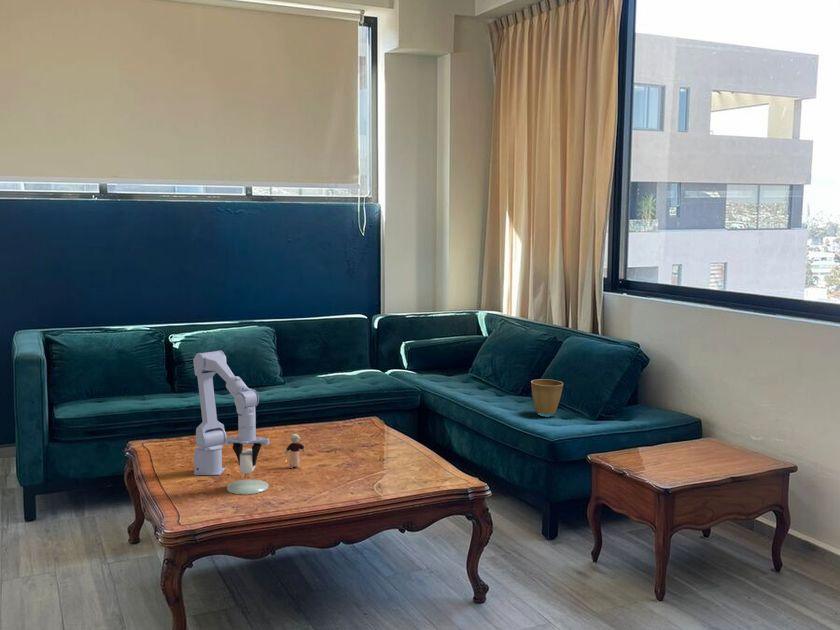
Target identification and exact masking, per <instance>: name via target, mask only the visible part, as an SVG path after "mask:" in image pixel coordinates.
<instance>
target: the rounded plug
mask: <svg viewBox="0 0 840 630" xmlns="http://www.w3.org/2000/svg"><path fill="white" fill-rule="evenodd" d="M256 465H257V464H256ZM256 465H255V466H253V454H252V448H245V449H243V450H242V453H241V454H240V466H239V473H241V474H247V475H248V474H251V473H252V472H253V471H254V470H255V469H256V467H257V466H256Z"/></svg>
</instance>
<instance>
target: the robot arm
mask: <svg viewBox="0 0 840 630" xmlns="http://www.w3.org/2000/svg"><path fill="white" fill-rule="evenodd" d="M192 360H193V361H192V363H193V371H194V376H196V377H197V385H198V394H199V403H200V410H201V419H202V422H201V423H200V424H199V425H198V426H196V429H195V444H196V446H197V447H196V448H195V450H194V453H193V455H194V456H193V467H194V468H193V469H194V471H193V472H194V473H193V475H197V476H200V475H201V476H221V474H223V472H224V471H225V470H226V467H225V466H223V458H222V455H223V453H222V452H223V451H222V448H224V445H232V450H233V452H234V453H235V456H236V458H237V461H238V466H239V467H240V454H241V453H242V451H243V450H244V448H243V446H244V445H252V446H251V449H252V454H253V466H255V465H257V459H258V455H259V453H260V450H261V448H262V446H263V445H264V446H268V445H269V444H270V438H269V437H268V438H267V437H260V436H256V434H257V433H256V430H257V428H256V427H257V426H256V424H257V422H256V421H257V420H256V418H257V415H256V407H257V406H258V405H259V402H260V397H259V394H258V392H257V391H256V389H253V388H249V386H247V385H246V383H245V382H244V381H243V379H242V378H241V377H240V376H239V375H238V376H235V374H234V373H233V372H232V370H231V367H229V365H228V364H227V356H226V355H225V353H224V352H223V350H220V349H219V350H216V351H207V352H202V353H201V352H198V353H196V354H195V355H194V358H193V359H192ZM216 374H217V375H218V376H219V377H220V378H221V379H222V380H224V381H225V388H226V389H227V391H229V393H230V394H231V395H232V397H233V398H234V405H235V407H236V413H237V414H238V415H237V417H238V419H237V420H238V421H237V423H238V425H237V427H238V436H232V437H229V436H228V437H227V432H226V431H225V425H224V423H221V422H220V421H219V420H218V415H217V407H216V399H215V390H214V388H215V387H214V380H213V377H214V376H215V375H216Z"/></svg>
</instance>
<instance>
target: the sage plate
mask: <svg viewBox="0 0 840 630" xmlns="http://www.w3.org/2000/svg"><path fill="white" fill-rule="evenodd" d="M269 488H270V484H269V483H268V482H266V481H265V480H261V479H241V480H236V481H233V482H231V483H229V484H228V485H227V486H226V491H227V493H230V494H233V493H234V495H239V494H242V495H241V496H247V495H249V494H251V495H256V493H257V494H261V493H263V491H264V492H266V491H267V490H268V489H269ZM265 490H266V491H265ZM260 492H261V493H260Z"/></svg>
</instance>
